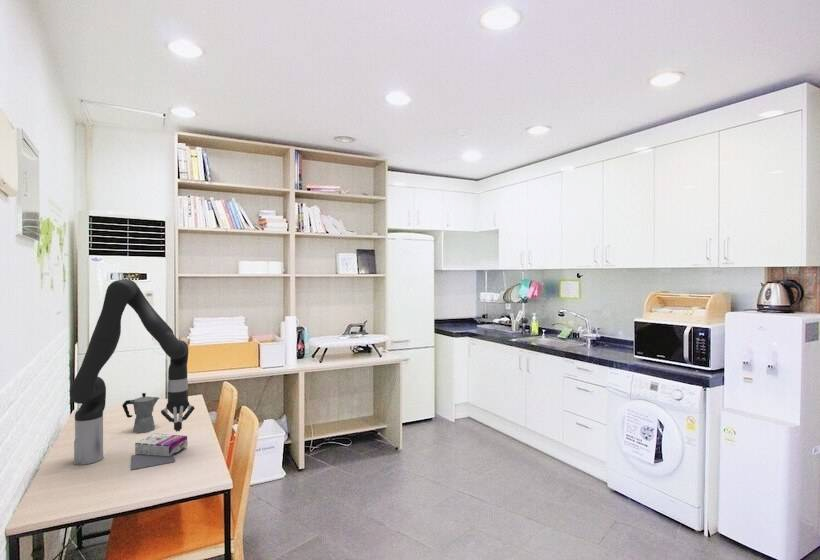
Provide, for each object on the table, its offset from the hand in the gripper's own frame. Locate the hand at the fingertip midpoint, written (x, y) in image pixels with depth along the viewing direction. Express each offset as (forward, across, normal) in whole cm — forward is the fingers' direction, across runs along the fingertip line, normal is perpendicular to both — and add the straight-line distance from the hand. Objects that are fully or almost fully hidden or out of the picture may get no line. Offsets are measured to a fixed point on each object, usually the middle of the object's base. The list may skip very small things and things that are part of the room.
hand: (177, 430), depth 187 cm
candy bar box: (+7, 0, +1) cm, 7 cm away
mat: (+10, -9, 0) cm, 13 cm away
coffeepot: (+10, -13, +42) cm, 45 cm away
